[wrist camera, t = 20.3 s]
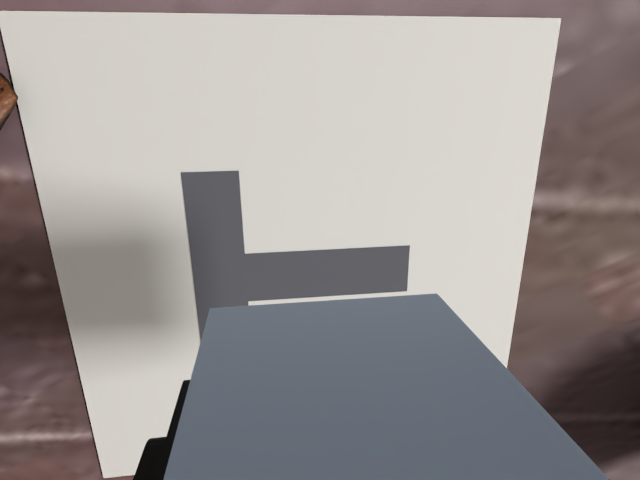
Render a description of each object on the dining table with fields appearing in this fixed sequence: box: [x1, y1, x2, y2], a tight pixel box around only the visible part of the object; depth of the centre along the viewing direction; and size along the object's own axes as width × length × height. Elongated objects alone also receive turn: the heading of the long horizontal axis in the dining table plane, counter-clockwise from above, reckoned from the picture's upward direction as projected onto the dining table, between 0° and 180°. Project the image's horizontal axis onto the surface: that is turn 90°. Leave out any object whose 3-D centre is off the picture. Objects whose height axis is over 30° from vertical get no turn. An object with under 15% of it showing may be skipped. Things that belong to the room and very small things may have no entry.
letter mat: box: [0, 11, 561, 478], centre depth 20 cm, size 22×22×1 cm
